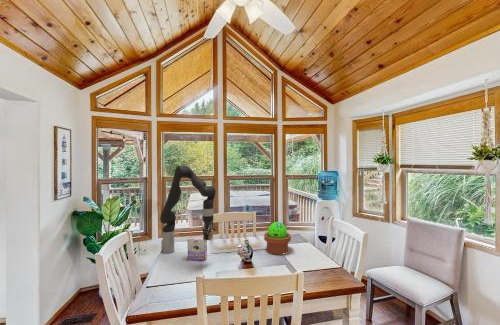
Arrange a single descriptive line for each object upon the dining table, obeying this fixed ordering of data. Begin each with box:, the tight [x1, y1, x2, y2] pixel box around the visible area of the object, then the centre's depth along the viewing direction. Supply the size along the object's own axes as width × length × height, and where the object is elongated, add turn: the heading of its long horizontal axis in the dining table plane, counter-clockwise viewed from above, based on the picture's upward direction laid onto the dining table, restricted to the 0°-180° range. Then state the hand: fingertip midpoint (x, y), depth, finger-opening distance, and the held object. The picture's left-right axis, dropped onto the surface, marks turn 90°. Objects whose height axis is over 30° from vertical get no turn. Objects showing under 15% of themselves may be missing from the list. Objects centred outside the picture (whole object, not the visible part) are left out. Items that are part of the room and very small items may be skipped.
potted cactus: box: [263, 221, 292, 255], centre depth 206 cm, size 22×22×25 cm
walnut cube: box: [202, 230, 214, 241], centre depth 175 cm, size 5×5×5 cm
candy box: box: [187, 236, 208, 262], centre depth 188 cm, size 14×6×16 cm, turn 84°
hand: (207, 238), depth 175 cm, fingers closed on walnut cube, 5 cm apart
